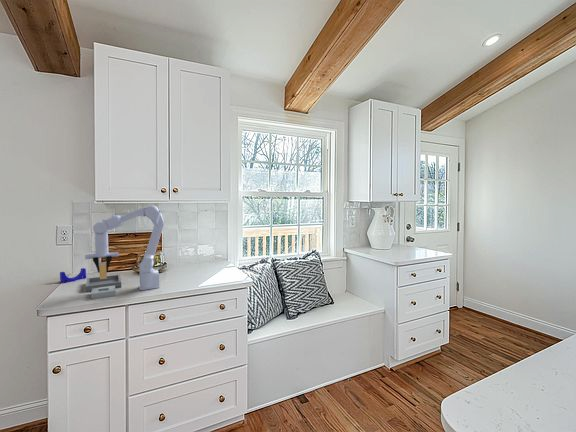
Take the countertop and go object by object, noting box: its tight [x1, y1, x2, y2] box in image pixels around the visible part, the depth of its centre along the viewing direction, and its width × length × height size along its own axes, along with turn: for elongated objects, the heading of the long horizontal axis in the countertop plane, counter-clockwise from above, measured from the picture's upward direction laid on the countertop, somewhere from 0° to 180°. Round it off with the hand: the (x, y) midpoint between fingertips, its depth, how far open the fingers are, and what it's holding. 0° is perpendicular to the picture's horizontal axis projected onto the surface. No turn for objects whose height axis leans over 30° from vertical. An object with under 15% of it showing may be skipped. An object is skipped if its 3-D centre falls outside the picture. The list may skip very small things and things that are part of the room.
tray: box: [84, 273, 122, 293], centre depth 165 cm, size 16×18×3 cm
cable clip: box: [59, 267, 87, 284], centre depth 175 cm, size 12×4×6 cm, turn 144°
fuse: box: [99, 261, 108, 279], centre depth 153 cm, size 3×3×8 cm
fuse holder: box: [90, 286, 117, 300], centre depth 149 cm, size 10×10×2 cm
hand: (102, 271), depth 154 cm, fingers closed on fuse, 3 cm apart
